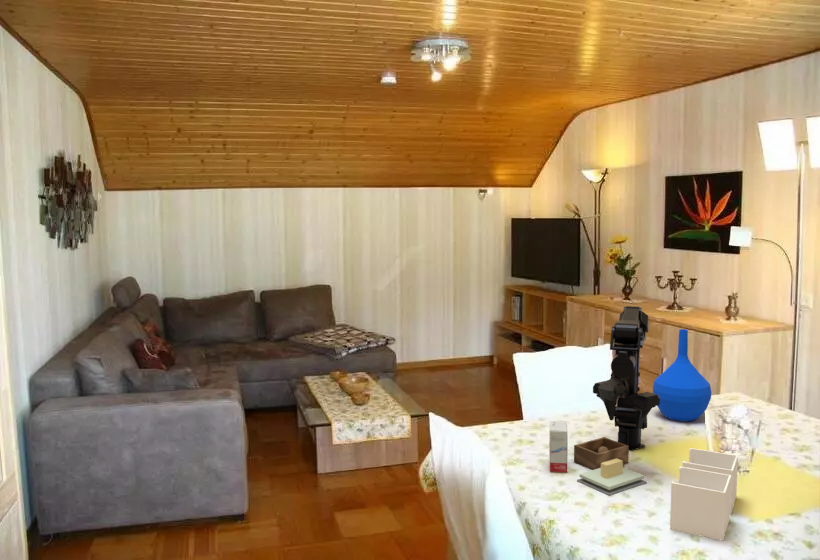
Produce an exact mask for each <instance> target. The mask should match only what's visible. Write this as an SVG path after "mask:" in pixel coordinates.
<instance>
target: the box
mask: <svg viewBox="0 0 820 560" xmlns="http://www.w3.org/2000/svg"><path fill="white" fill-rule="evenodd" d="M602 446H604V447H606V448H607V449H608V451H605V452H601V453H598V449H599V448H600V447H602ZM629 451H630V450H629V446H628V445H625V444H622V443H619V442H618V440H617V441H616V440H614V439H611V438H609V437H606V436H602V437H599V438H595V439H590V440H589V441H585V442H581V443H577V444H574V446H573V463H575V464H577V465H580V466H582V467H584V468H586V469H589V470H590V471H592V470H595V469H598V468H601V463H603V462H606V461H610V460H613V459H616V458H617V459H620V460H622V461H623V466H625V465H627V464H629V459H630V458H629V455H630V454H629V453H630V452H629Z"/></svg>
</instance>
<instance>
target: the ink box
mask: <svg viewBox="0 0 820 560" xmlns="http://www.w3.org/2000/svg"><path fill="white" fill-rule="evenodd" d="M568 442H569V441H568V423H567V422H565V421H549V450H548V451H549V472H550V473H564V474H566V473H568V457H569V456H568V447H569V446H568Z"/></svg>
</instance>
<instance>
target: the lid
mask: <svg viewBox="0 0 820 560" xmlns="http://www.w3.org/2000/svg"><path fill="white" fill-rule="evenodd" d="M623 466H624V465H623V461H622V460H620V459H617V458H616V459H613V460H610V461H606V462H603V463H601V468H598V469H595V470H589V471H585V472H583V473H579V479H581V478H583V479H585V480H587V481H589V482H592V483H594V484H596V485H598V486H601V487H603V488H605V489H607V490H611V489H614V488H617V487H620V486H623V485H626V484H629V483H632V482H635V481H638V480H641V479H642V480H645V479H644V478H645V475H643V474H640V473H638V472H636V471H634V470H631V469H628V468H626V467H623Z"/></svg>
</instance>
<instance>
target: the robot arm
mask: <svg viewBox="0 0 820 560" xmlns="http://www.w3.org/2000/svg"><path fill="white" fill-rule="evenodd" d="M642 308H643V307H640V306H635V305H634V306H631V305H626V306H624V307H623V311H622V312H620V314H619V316H618V318H619V319H618V320H617V321H616V322H614V326H612V327H611V332H610V341H609V342H610V344H609V350H610V351H614V357H613V359H612V361H611V363H610V370H611V374H610V378H609V379H607V380H604V381H603V380H602V381H600V382H599V381H598V382H595V383H594V384H593V386H592V394H596V397H597V398H599V399H600V400H601V401H602V402H603V404H604V406H605V409H606V412H607V415H608V416H607V417H608V419H609V421H614V427H615V428H616V427H618V431H617V442H619V443H622V444H625V445H628V446H629V451H636V450H639V449H641V448H645V447H646V445H645V444H644V443H642V441H641V440H642V430H645V429H648V415H649V413H650V411H651V410H652V409H653V408H656V406H657V407H658V405H660V397H659V396H658V395H657V394H653V392H650V391H645V392H641V393H639V392H640V386H639V381H640V379H639V377H640V376H641V372H640V361H641V359H640V358H641V353H640V352H641V349H643V347H644V346H643V345H644V342H645V341H646V339H647V333H649V330H650V321H649V320H650V319H649V318H650V317H649V315H648V314H647V313H645V312H644V311H643V309H642Z"/></svg>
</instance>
